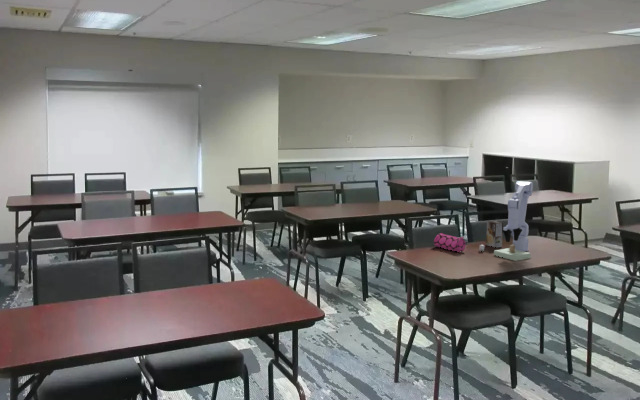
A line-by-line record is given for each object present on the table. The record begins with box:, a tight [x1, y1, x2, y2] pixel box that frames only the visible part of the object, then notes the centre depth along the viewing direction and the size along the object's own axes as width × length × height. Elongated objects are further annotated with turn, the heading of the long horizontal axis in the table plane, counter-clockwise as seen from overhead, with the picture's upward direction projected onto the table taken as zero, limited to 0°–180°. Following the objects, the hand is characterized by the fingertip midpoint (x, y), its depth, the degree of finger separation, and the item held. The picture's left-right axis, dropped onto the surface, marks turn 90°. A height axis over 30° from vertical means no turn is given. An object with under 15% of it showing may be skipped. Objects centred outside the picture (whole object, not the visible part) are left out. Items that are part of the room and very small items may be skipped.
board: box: [493, 247, 532, 261], centre depth 343 cm, size 14×16×3 cm
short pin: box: [478, 244, 486, 252], centre depth 356 cm, size 3×3×4 cm
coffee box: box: [485, 220, 504, 248], centre depth 372 cm, size 9×6×16 cm
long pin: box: [509, 244, 515, 253], centre depth 343 cm, size 3×3×7 cm
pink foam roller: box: [433, 232, 468, 253], centre depth 360 cm, size 21×10×10 cm, turn 36°
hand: (511, 241), depth 343 cm, fingers open, 7 cm apart
